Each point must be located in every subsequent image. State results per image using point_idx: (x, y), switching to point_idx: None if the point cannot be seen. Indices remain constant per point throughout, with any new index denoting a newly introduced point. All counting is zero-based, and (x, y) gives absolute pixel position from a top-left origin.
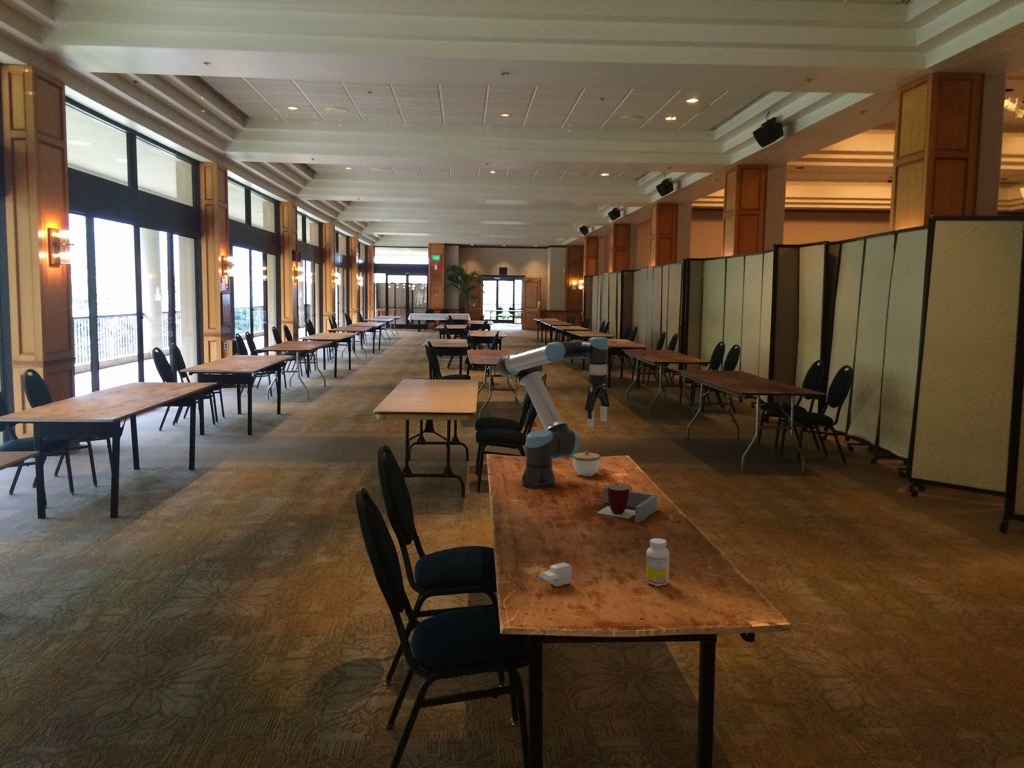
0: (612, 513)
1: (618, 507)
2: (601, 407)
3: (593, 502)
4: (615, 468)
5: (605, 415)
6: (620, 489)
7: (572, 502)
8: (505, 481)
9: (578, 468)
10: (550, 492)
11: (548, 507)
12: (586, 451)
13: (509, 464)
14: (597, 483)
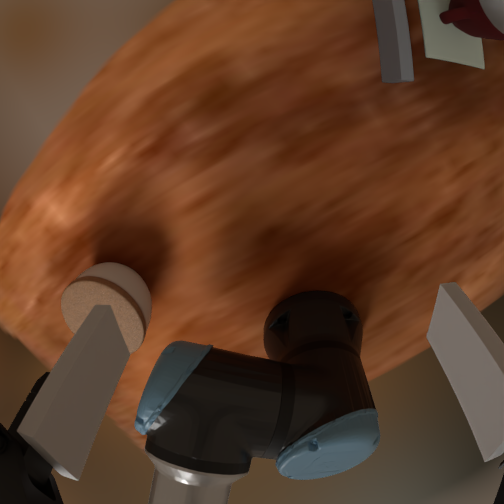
0: None
1: (486, 10)
2: (75, 465)
3: (408, 110)
4: (25, 252)
5: (84, 358)
6: (471, 4)
7: (437, 166)
8: None
9: (151, 306)
10: (373, 268)
11: (493, 201)
12: None
13: None
14: (187, 206)
